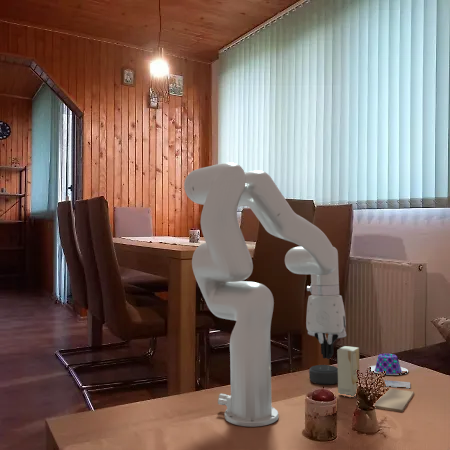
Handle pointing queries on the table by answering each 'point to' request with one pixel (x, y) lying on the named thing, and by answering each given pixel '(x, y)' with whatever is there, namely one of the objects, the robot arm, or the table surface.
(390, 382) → the trowel prop
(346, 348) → the skincare box
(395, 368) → the pudding
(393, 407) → the beige flat slab
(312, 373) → the smart speaker
